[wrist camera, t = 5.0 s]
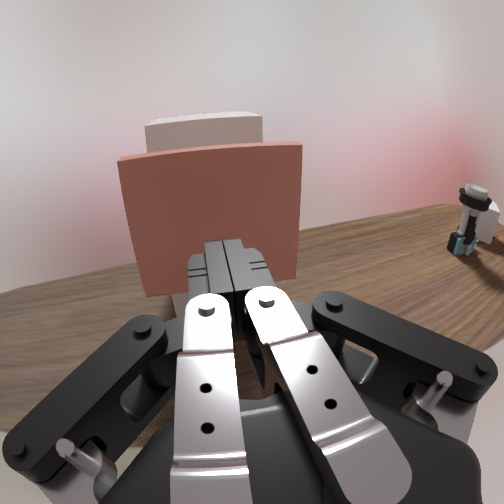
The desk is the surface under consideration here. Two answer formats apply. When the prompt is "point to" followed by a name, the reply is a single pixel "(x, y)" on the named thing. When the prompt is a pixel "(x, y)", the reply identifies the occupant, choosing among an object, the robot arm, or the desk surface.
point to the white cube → (487, 224)
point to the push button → (469, 219)
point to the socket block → (201, 143)
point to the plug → (211, 207)
